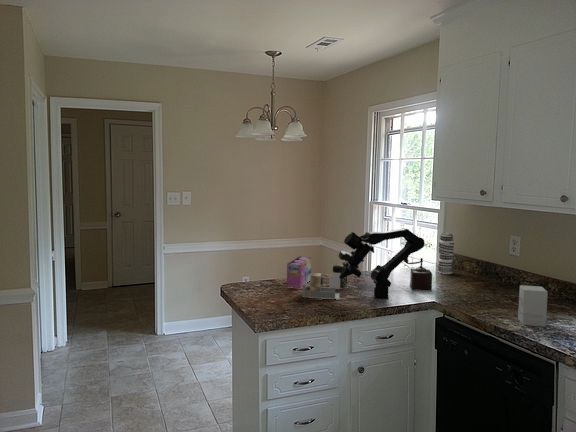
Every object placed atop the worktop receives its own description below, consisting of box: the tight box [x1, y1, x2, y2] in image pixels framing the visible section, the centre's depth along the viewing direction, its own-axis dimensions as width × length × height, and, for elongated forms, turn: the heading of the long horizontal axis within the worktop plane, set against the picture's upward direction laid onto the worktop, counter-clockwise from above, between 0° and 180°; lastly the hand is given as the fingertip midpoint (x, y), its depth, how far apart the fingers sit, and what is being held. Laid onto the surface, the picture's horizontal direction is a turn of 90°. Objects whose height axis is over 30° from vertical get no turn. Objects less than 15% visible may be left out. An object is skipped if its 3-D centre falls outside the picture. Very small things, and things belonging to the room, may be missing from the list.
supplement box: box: [517, 285, 549, 328], centre depth 196 cm, size 9×9×15 cm
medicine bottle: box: [328, 264, 348, 290], centre depth 251 cm, size 7×7×12 cm
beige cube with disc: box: [309, 272, 324, 291], centre depth 233 cm, size 6×6×10 cm
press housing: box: [301, 281, 340, 301], centre depth 233 cm, size 18×10×7 cm, turn 83°
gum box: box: [286, 256, 312, 289], centre depth 258 cm, size 24×8×14 cm, turn 162°
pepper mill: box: [403, 256, 433, 291], centre depth 253 cm, size 16×11×18 cm
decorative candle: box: [437, 232, 455, 275], centre depth 291 cm, size 9×9×25 cm
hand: (340, 278), depth 231 cm, fingers closed
